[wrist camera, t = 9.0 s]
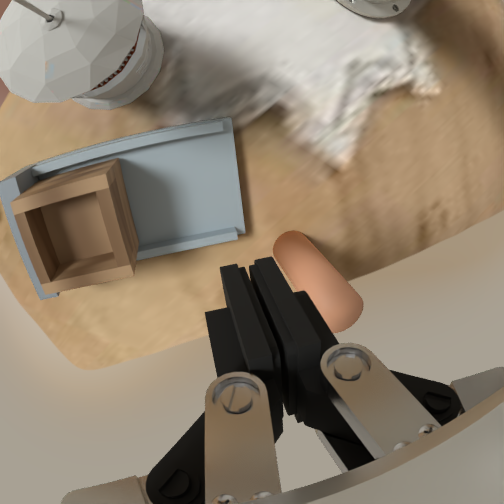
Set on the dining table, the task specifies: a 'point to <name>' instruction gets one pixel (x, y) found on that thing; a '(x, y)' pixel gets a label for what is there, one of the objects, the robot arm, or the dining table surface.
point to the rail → (157, 187)
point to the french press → (79, 51)
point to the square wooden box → (78, 227)
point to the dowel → (318, 280)
